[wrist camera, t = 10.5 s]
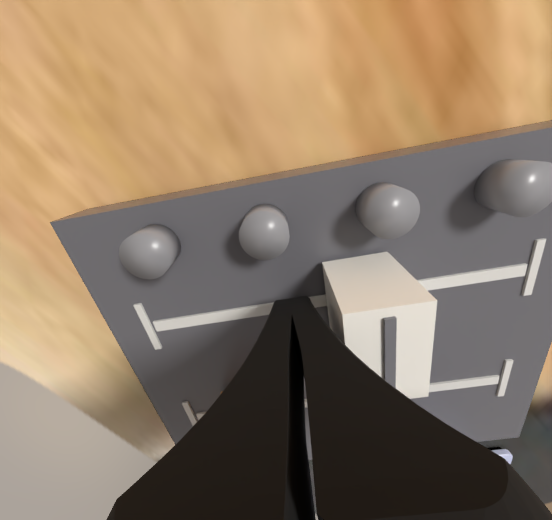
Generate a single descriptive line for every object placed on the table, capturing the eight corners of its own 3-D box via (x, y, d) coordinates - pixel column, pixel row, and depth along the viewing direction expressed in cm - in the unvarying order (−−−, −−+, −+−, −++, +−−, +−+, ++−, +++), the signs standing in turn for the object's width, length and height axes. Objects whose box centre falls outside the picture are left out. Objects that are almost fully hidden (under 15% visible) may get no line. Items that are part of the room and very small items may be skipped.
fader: (387, 328, 11) (430, 399, 8) (330, 336, 11) (351, 409, 8) (387, 251, 9) (439, 302, 6) (321, 262, 10) (343, 316, 7)
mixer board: (491, 403, 16) (538, 461, 13) (200, 438, 18) (185, 497, 15) (562, 118, 10) (686, 107, 7) (87, 208, 11) (19, 233, 8)
